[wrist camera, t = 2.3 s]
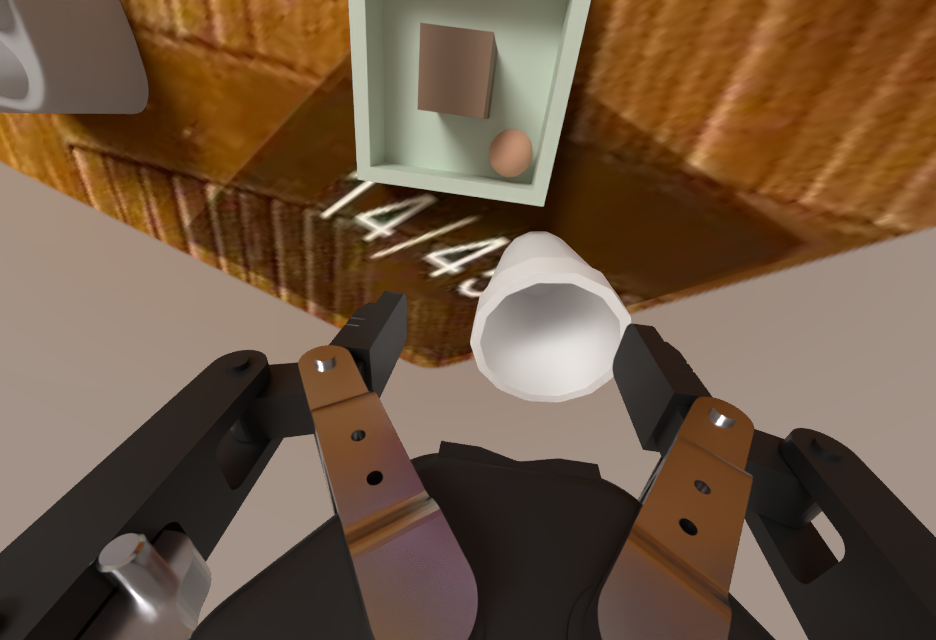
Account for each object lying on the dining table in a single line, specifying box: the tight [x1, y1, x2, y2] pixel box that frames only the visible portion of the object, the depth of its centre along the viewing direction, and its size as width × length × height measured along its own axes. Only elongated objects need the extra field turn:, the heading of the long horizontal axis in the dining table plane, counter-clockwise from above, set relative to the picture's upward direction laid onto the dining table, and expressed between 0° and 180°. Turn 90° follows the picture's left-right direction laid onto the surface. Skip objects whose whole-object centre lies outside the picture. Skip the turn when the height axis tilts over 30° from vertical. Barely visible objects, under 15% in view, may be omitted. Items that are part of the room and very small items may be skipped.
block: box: [417, 23, 498, 119], centre depth 22 cm, size 4×4×6 cm
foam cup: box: [470, 231, 631, 403], centre depth 26 cm, size 10×9×13 cm
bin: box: [349, 0, 591, 207], centre depth 23 cm, size 14×14×4 cm
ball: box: [489, 129, 533, 177], centre depth 25 cm, size 3×3×3 cm
